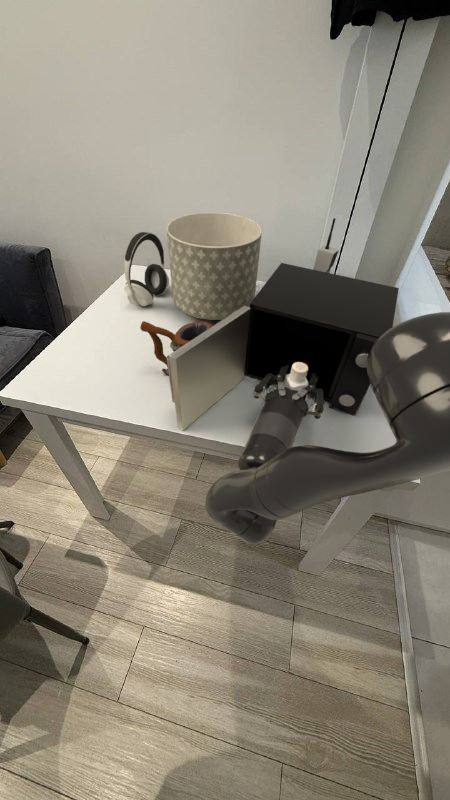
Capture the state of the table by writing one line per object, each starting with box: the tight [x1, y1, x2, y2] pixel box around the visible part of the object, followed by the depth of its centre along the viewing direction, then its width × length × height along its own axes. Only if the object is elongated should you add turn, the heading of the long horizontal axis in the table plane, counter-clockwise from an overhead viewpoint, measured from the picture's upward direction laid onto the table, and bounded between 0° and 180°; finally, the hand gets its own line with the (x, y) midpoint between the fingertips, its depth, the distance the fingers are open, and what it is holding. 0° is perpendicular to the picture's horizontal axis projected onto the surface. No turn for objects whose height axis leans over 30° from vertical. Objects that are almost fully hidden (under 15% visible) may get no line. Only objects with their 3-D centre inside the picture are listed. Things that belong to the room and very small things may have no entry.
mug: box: [139, 320, 214, 376], centre depth 76 cm, size 18×12×15 cm, turn 78°
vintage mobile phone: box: [313, 217, 340, 273], centre depth 100 cm, size 4×5×25 cm
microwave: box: [244, 262, 399, 416], centre depth 77 cm, size 24×28×20 cm
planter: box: [166, 211, 263, 321], centre depth 95 cm, size 25×25×24 cm
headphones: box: [123, 231, 170, 307], centre depth 99 cm, size 19×8×20 cm, turn 157°
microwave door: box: [166, 306, 251, 432], centre depth 69 cm, size 5×22×20 cm, turn 141°
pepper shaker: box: [284, 362, 308, 391], centre depth 68 cm, size 4×4×10 cm
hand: (299, 372), depth 69 cm, fingers closed on pepper shaker, 5 cm apart
